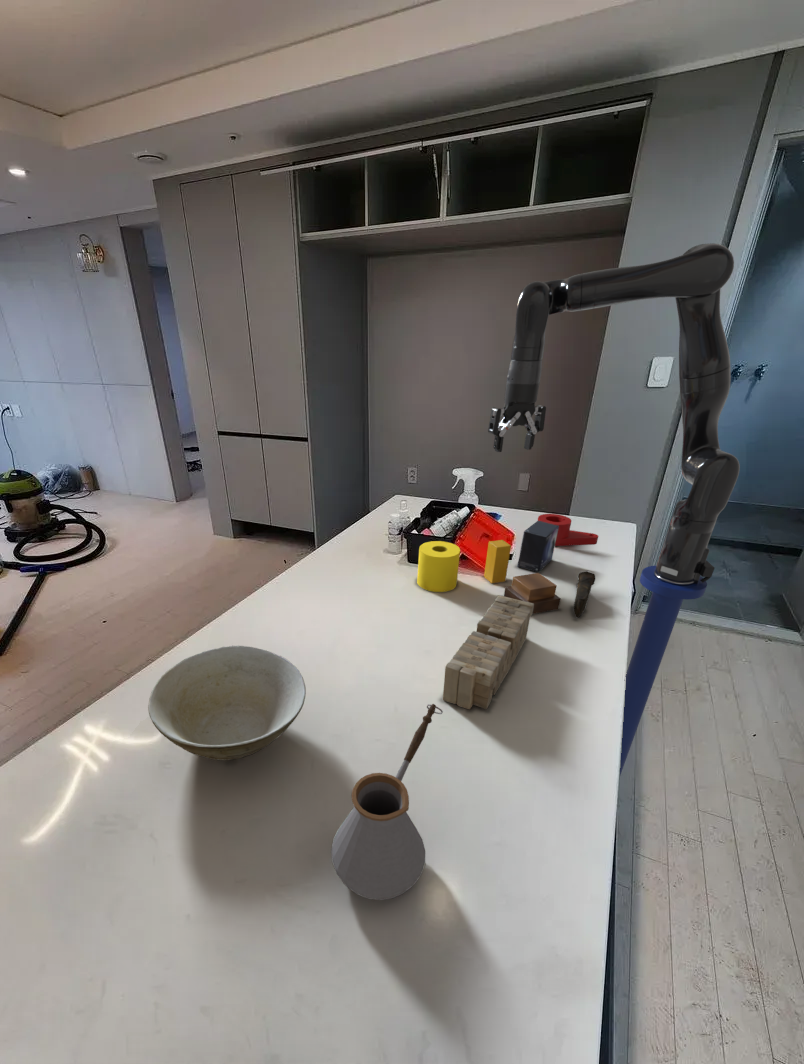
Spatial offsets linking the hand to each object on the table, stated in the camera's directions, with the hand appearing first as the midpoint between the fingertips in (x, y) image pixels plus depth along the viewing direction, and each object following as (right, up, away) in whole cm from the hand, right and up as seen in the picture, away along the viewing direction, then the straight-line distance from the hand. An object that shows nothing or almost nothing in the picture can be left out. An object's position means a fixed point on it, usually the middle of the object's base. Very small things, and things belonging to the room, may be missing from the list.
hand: (513, 450), depth 128 cm
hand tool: (+15, -38, -7) cm, 42 cm away
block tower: (-14, -51, -29) cm, 60 cm away
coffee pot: (-35, -69, -61) cm, 99 cm away
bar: (-4, -32, +4) cm, 33 cm away
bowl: (-60, -60, -45) cm, 96 cm away
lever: (+24, -20, +26) cm, 41 cm away
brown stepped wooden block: (+2, -39, -8) cm, 39 cm away
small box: (+10, -28, +12) cm, 32 cm away
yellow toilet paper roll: (-19, -34, +2) cm, 39 cm away
